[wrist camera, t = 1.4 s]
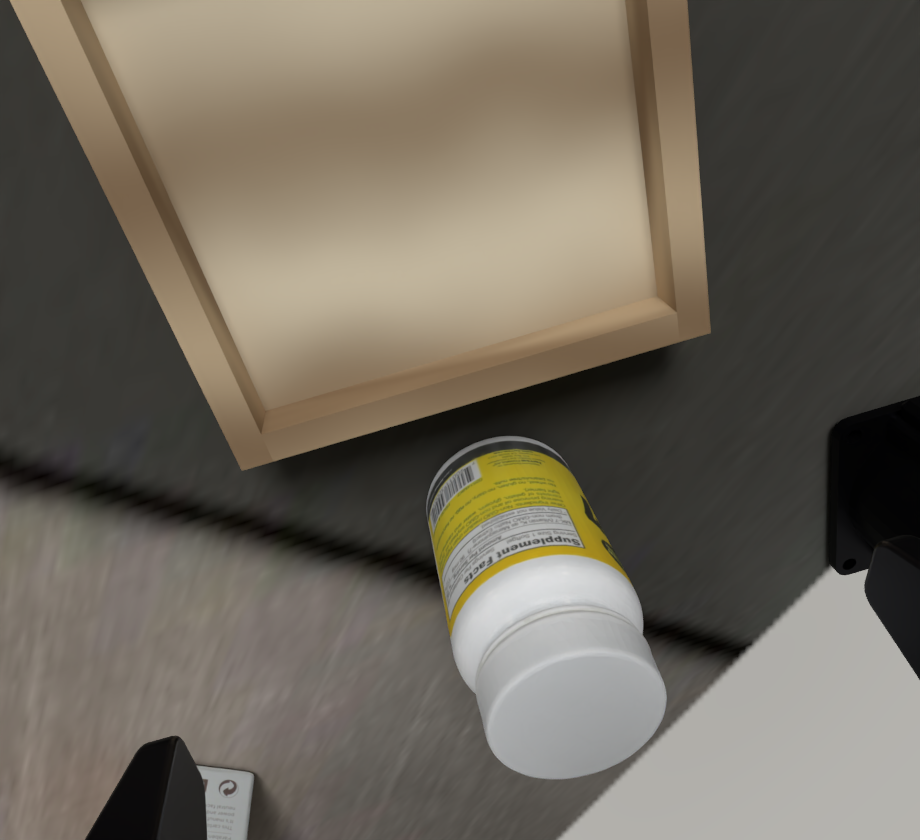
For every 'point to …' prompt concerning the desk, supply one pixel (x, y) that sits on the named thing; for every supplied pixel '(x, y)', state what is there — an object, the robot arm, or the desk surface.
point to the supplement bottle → (540, 612)
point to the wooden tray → (390, 193)
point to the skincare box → (227, 802)
